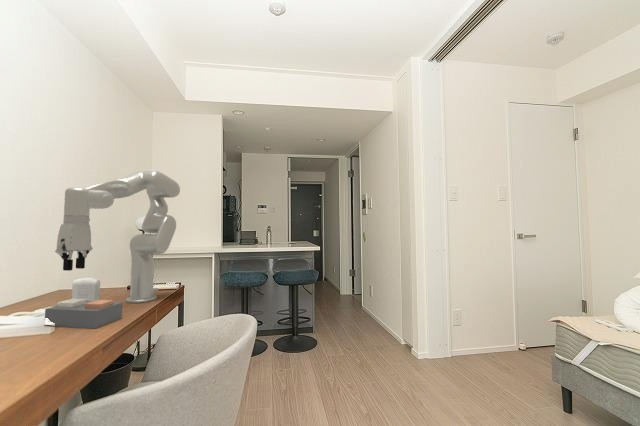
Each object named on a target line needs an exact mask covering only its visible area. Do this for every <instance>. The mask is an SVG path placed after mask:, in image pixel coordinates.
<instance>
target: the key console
mask: <svg viewBox="0 0 640 426" xmlns="http://www.w3.org/2000/svg"><path fill="white" fill-rule="evenodd" d="M89 302H92V301H87V303H89ZM122 316H123V302H122V301H121V302H119V301H113V305H110V306H107V307H104V308H101V309H93V308H85V304H83V305H79V306H76V307H72V308H70V307H57V305H55V306H50V307H46V308H45V309H44V319H45V318H48V319H49V320H50V321H51V322H53V323H55V326H54V327H57V328H75V329H76V328H79V329H80V328H81V329H98V328H100V327H103V326H106V325H108V324H111V323H113V322H116V321H118V320H121V319H123V317H122Z"/></svg>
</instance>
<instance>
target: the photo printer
mask: <svg viewBox="0 0 640 426" xmlns="http://www.w3.org/2000/svg"><path fill="white" fill-rule="evenodd" d="M100 294H101V281H100V279H98V278H97V279H96V278H94V277H84V278H83V277H81V278H78V279H75V280H73V283H72V288H71V299H87V301H96V300H100Z"/></svg>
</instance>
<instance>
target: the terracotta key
mask: <svg viewBox="0 0 640 426" xmlns="http://www.w3.org/2000/svg"><path fill="white" fill-rule="evenodd" d="M113 302H114V300H113V299H99V300H96V301H92V302H89V303H86V304H85V308H93V309H101V308H104V307H107V306H110V305H113Z"/></svg>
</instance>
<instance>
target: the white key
mask: <svg viewBox="0 0 640 426" xmlns="http://www.w3.org/2000/svg"><path fill="white" fill-rule="evenodd" d="M86 303H87V299H72V298H70V299H65V300H62V301H57V304H56V306H57V307H70V308H72V307H76V306H79V305H83V304H86Z"/></svg>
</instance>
